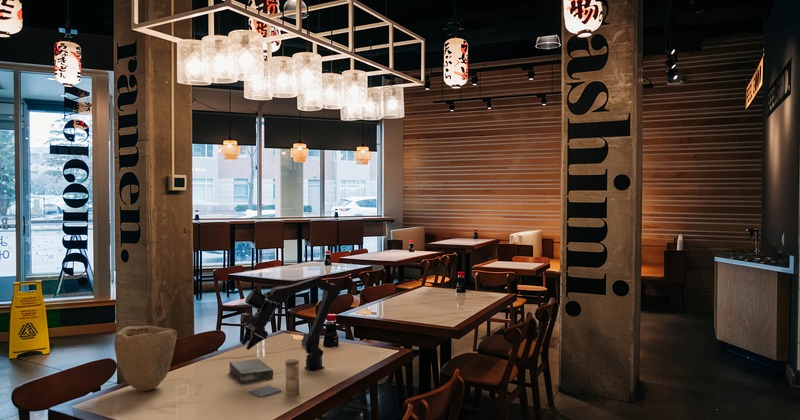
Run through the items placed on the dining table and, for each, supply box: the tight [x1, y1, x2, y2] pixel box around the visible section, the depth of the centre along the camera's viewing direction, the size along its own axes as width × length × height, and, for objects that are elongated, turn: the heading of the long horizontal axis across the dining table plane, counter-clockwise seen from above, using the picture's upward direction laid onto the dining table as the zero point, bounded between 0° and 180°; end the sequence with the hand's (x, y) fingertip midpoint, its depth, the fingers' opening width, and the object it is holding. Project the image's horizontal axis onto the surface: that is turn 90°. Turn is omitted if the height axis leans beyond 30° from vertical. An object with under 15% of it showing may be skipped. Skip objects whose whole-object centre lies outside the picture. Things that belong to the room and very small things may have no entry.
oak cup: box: [284, 358, 300, 397], centre depth 208 cm, size 5×5×13 cm
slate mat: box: [248, 385, 282, 399], centre depth 211 cm, size 9×9×1 cm
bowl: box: [113, 325, 178, 392], centre depth 215 cm, size 22×22×25 cm
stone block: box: [229, 358, 274, 385], centre depth 232 cm, size 14×20×5 cm
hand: (244, 346), depth 226 cm, fingers open, 9 cm apart
